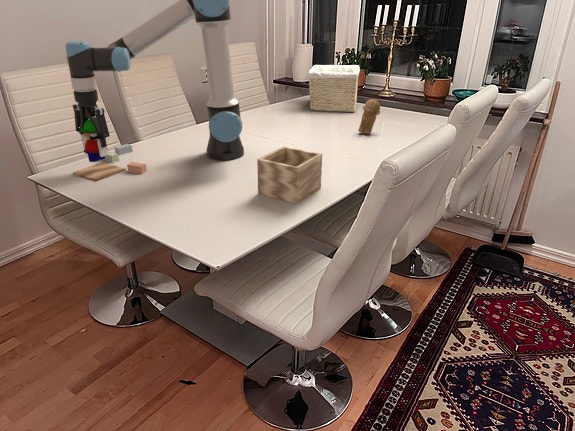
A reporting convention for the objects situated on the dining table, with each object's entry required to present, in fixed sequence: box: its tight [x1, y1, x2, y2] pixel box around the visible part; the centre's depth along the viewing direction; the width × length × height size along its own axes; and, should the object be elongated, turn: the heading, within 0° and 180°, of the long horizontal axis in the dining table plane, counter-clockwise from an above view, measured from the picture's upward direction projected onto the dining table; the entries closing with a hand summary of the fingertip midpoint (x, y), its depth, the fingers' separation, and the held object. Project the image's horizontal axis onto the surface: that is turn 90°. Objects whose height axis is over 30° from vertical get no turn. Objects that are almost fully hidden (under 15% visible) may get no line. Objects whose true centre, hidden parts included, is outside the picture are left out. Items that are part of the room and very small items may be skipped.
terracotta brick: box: [126, 161, 148, 175], centre depth 175 cm, size 6×3×3 cm, turn 71°
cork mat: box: [72, 162, 127, 182], centre depth 175 cm, size 13×13×1 cm
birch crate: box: [256, 146, 323, 205], centre depth 158 cm, size 15×16×12 cm
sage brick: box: [103, 150, 120, 164], centre depth 186 cm, size 6×3×3 cm, turn 55°
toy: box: [80, 120, 105, 163], centre depth 169 cm, size 9×9×15 cm
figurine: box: [357, 98, 381, 135], centre depth 219 cm, size 8×8×15 cm
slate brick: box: [114, 143, 134, 156], centre depth 194 cm, size 6×3×3 cm, turn 139°
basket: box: [307, 64, 361, 113], centre depth 264 cm, size 27×27×22 cm
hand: (96, 153), depth 172 cm, fingers closed on toy, 8 cm apart
